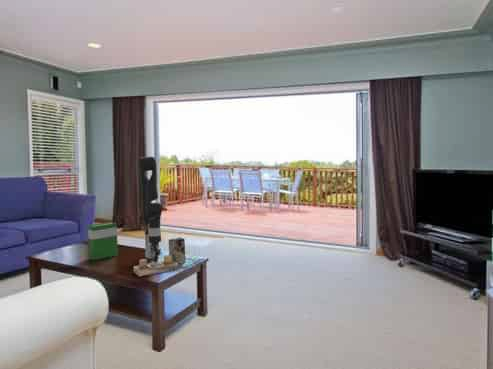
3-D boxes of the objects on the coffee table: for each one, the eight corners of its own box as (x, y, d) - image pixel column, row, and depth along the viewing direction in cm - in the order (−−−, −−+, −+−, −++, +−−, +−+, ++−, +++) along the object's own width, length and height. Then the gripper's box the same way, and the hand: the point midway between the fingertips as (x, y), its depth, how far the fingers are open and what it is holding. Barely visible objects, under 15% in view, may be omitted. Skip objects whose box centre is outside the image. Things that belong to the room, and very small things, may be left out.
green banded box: (113, 253, 276) (111, 221, 274) (117, 255, 271) (116, 223, 269) (89, 258, 263) (87, 225, 261) (94, 260, 258) (92, 226, 256)
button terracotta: (138, 267, 230) (138, 259, 229) (145, 266, 232) (145, 258, 232) (140, 269, 226) (140, 261, 226) (148, 268, 229) (148, 260, 228)
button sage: (151, 269, 234) (150, 261, 234) (158, 267, 237) (157, 260, 237) (153, 270, 231) (153, 263, 230) (160, 269, 233) (160, 261, 233)
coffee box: (181, 260, 256) (180, 237, 255) (185, 262, 251) (185, 238, 249) (169, 262, 250) (168, 239, 249) (173, 264, 245) (172, 240, 244)
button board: (133, 271, 231) (133, 266, 231) (171, 264, 245) (171, 259, 245) (139, 276, 222) (139, 270, 222) (178, 268, 236) (177, 263, 236)
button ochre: (163, 263, 239) (162, 255, 238) (169, 262, 241) (169, 254, 241) (165, 264, 235) (165, 257, 235) (172, 263, 237) (172, 256, 237)
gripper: (145, 233, 235) (146, 260, 237) (152, 237, 224) (153, 265, 226) (156, 232, 240) (157, 258, 241) (164, 235, 229) (165, 263, 230)
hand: (155, 261), depth 233 cm, fingers closed
